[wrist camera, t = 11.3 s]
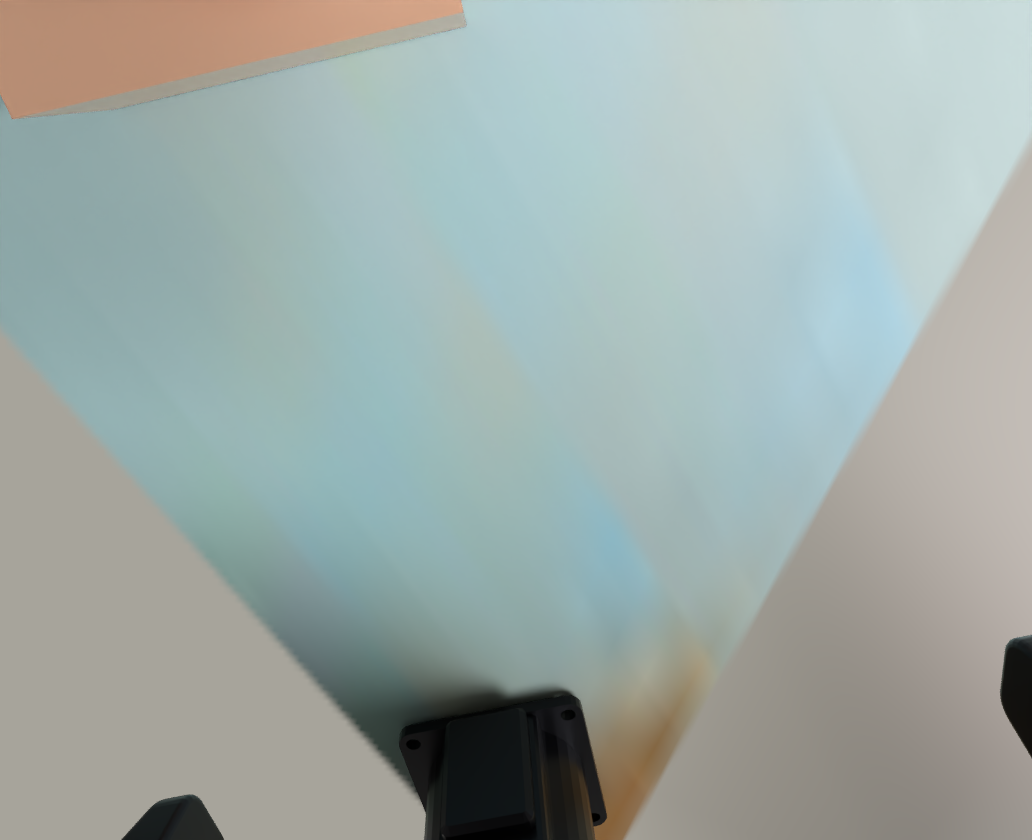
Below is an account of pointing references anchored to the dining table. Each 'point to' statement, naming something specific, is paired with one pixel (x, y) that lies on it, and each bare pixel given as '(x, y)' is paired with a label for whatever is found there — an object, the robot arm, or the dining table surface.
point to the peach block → (184, 44)
